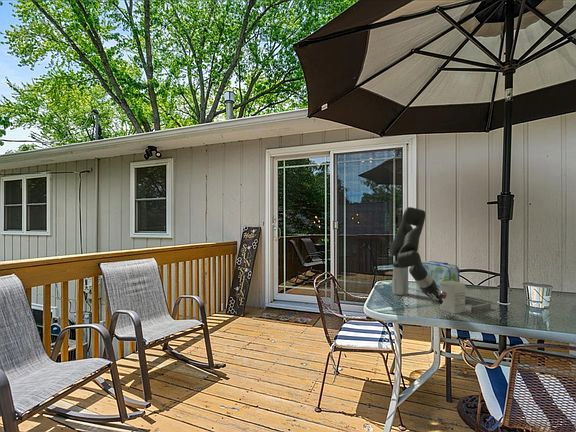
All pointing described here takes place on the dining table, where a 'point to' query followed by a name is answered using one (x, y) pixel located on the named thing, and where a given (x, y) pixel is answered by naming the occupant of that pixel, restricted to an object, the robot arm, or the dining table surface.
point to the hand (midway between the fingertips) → (440, 302)
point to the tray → (477, 305)
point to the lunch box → (441, 272)
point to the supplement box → (453, 296)
